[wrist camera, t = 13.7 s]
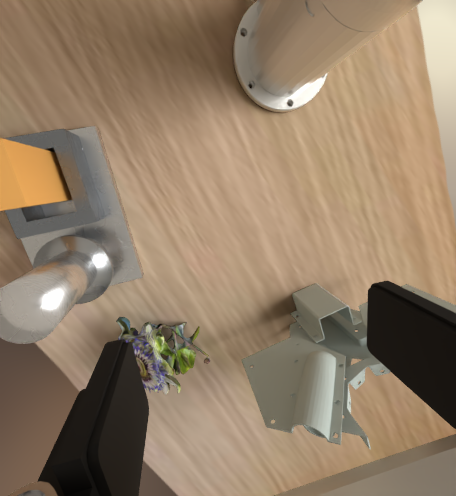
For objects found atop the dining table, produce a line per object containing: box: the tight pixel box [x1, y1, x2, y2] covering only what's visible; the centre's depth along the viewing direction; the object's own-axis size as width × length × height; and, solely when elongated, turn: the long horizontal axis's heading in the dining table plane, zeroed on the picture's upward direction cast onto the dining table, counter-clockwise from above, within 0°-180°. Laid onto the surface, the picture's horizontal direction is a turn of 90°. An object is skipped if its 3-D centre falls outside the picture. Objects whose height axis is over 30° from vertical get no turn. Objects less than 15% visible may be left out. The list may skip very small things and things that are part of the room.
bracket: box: [242, 283, 456, 449], centre depth 33 cm, size 28×7×20 cm, turn 109°
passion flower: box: [116, 317, 210, 395], centre depth 35 cm, size 11×11×12 cm
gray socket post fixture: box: [0, 126, 144, 344], centre depth 25 cm, size 19×12×16 cm, turn 11°
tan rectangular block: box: [0, 138, 73, 211], centre depth 24 cm, size 5×4×11 cm
